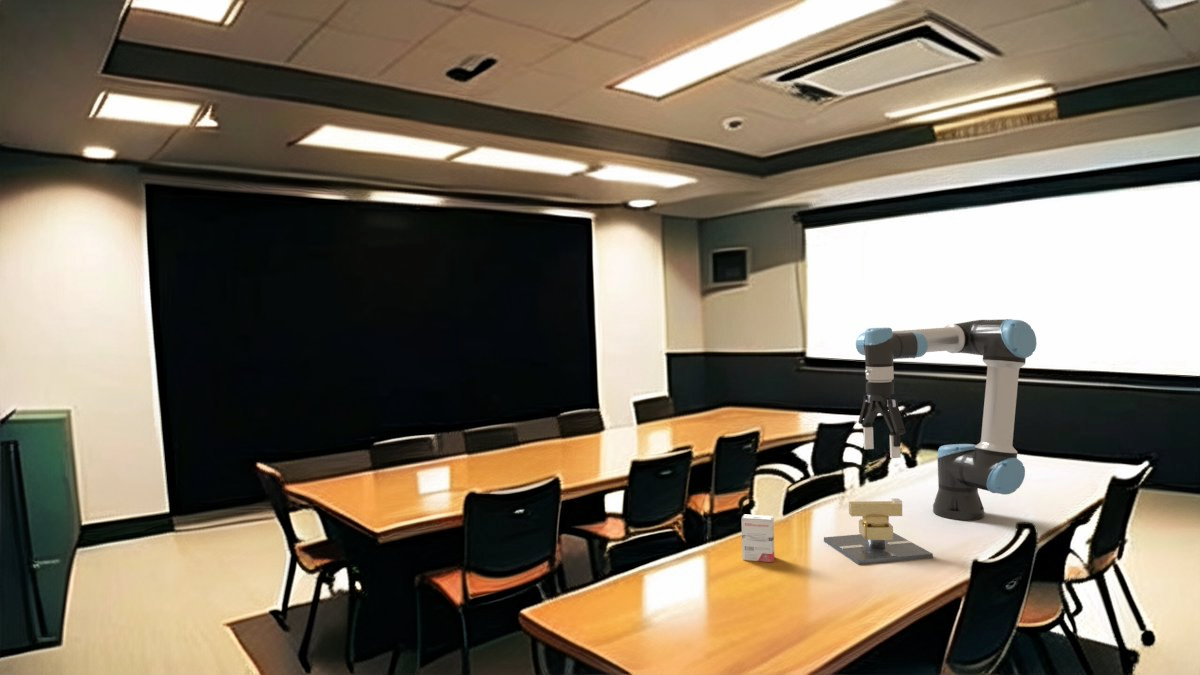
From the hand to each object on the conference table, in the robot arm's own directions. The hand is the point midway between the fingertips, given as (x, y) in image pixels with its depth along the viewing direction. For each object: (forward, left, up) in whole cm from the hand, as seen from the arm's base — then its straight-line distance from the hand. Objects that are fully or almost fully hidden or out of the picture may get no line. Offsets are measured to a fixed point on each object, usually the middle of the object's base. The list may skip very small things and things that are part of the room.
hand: (881, 453), depth 203 cm
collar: (+4, +4, -23) cm, 24 cm away
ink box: (+39, +3, -27) cm, 48 cm away
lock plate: (+4, +4, -27) cm, 27 cm away
